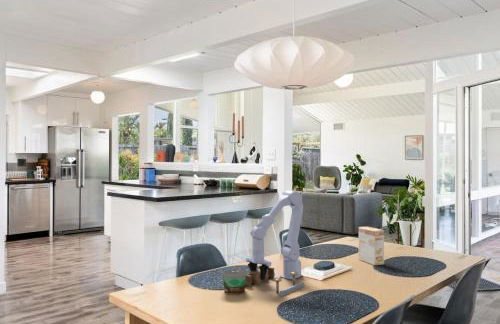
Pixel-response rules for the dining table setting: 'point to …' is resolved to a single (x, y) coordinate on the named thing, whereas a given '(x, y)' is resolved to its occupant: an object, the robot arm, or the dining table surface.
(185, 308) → the dining table surface
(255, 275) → the wooden notched bar
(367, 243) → the coffeecake box
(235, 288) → the food container
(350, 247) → the dining table surface
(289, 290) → the back rail
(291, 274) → the keyhole posts
